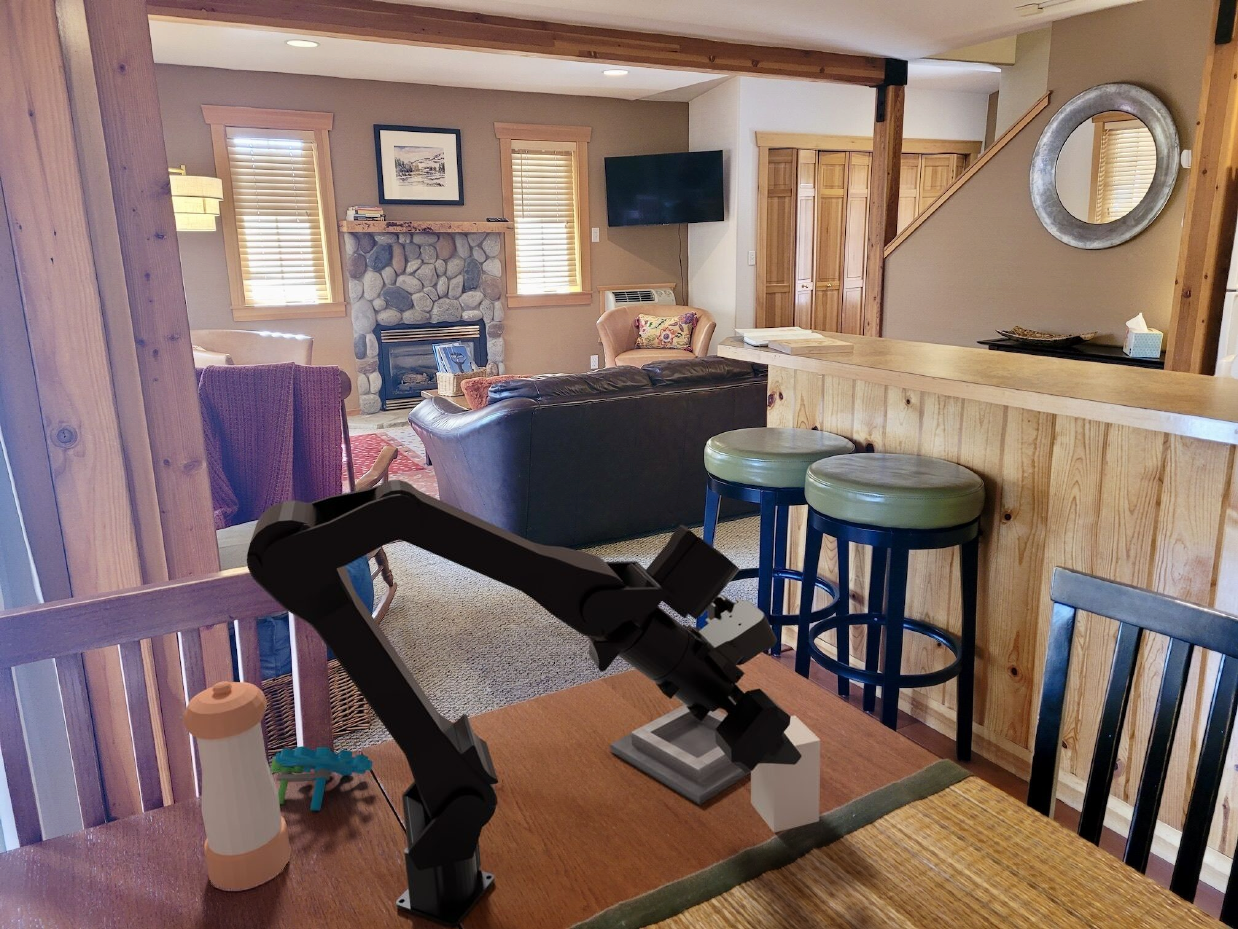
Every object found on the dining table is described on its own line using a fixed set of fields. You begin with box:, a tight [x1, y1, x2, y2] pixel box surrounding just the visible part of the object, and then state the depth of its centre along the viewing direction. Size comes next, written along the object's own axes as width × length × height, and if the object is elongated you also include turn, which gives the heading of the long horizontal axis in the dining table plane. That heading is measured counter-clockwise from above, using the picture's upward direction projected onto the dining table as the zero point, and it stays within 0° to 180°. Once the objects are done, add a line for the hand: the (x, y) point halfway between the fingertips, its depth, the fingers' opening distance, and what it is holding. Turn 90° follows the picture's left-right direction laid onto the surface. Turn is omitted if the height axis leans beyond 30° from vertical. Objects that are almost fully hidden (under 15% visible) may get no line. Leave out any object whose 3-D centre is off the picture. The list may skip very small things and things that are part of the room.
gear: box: [270, 746, 373, 812], centre depth 92 cm, size 11×6×10 cm
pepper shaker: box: [182, 680, 292, 889], centre depth 80 cm, size 7×7×19 cm
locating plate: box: [609, 704, 751, 806], centre depth 98 cm, size 14×14×2 cm
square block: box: [750, 714, 821, 833], centre depth 86 cm, size 5×5×9 cm
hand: (774, 735), depth 85 cm, fingers open, 9 cm apart
